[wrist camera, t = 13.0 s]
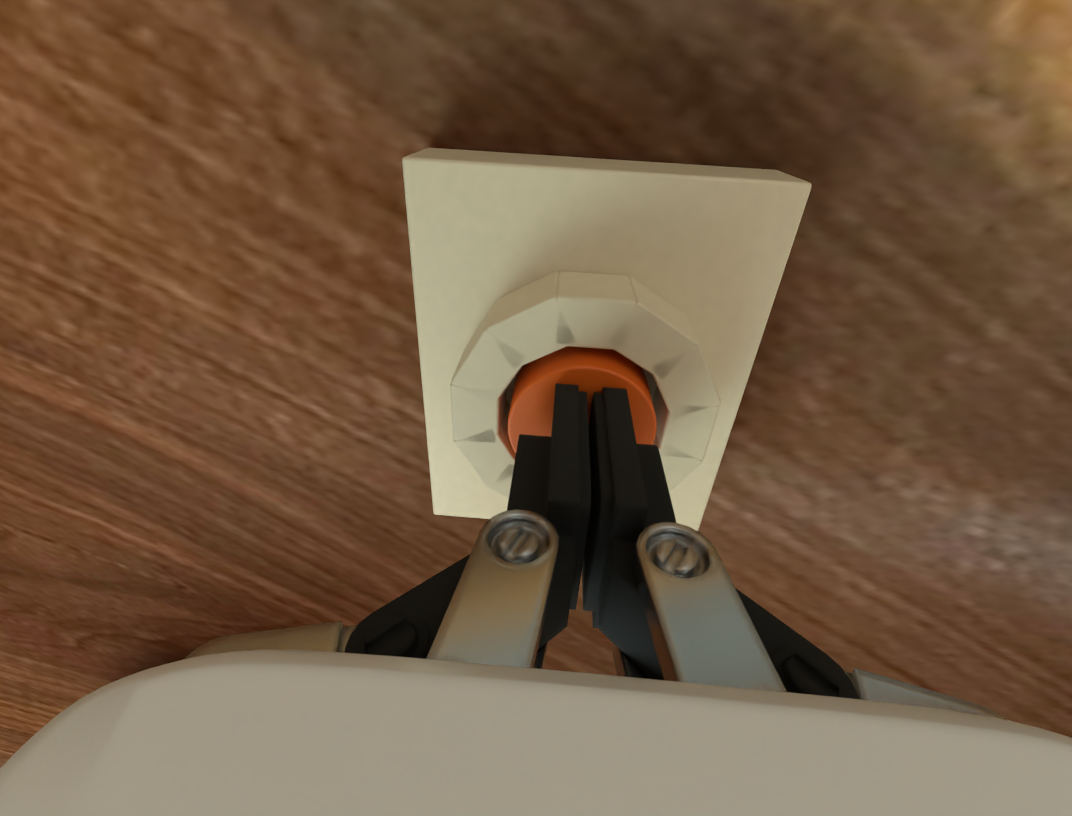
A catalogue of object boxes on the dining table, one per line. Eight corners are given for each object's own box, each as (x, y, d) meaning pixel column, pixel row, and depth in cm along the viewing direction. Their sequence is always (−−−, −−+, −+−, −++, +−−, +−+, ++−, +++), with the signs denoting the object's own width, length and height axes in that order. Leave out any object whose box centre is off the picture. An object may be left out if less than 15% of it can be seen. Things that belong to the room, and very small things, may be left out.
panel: (425, 147, 13) (372, 167, 9) (778, 169, 12) (855, 198, 9) (446, 473, 19) (418, 557, 15) (684, 492, 18) (709, 582, 15)
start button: (516, 328, 12) (508, 360, 11) (658, 339, 12) (671, 373, 11) (512, 442, 14) (505, 483, 13) (635, 452, 14) (643, 493, 13)
